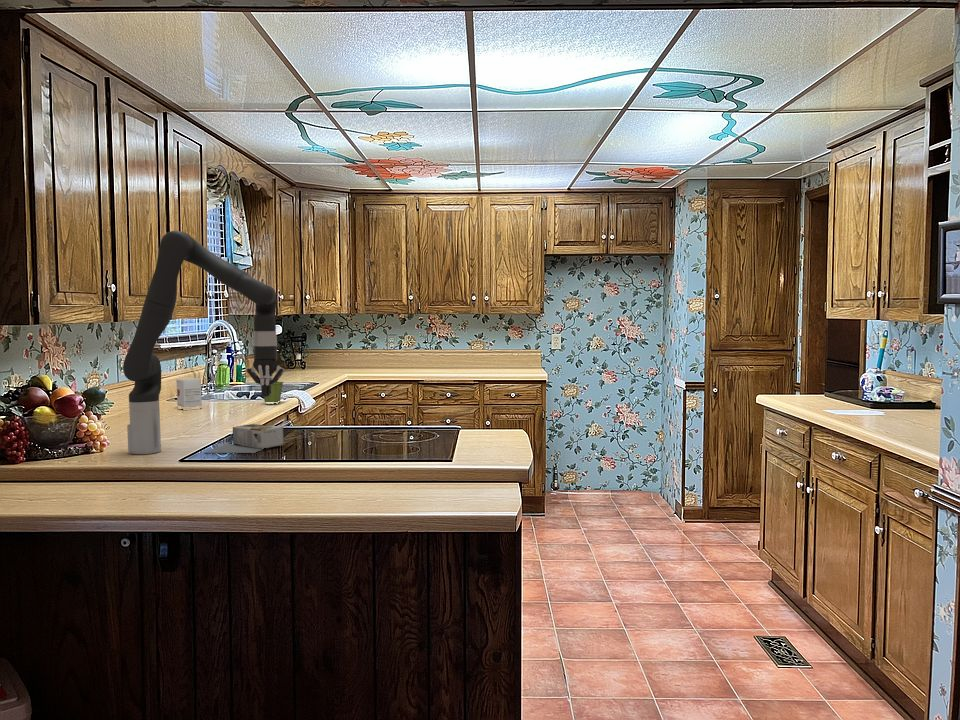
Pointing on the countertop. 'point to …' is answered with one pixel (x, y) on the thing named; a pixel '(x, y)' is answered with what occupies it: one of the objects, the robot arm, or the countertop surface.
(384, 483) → the countertop surface
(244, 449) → the mat
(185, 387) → the supplement box
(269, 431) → the coffee box
